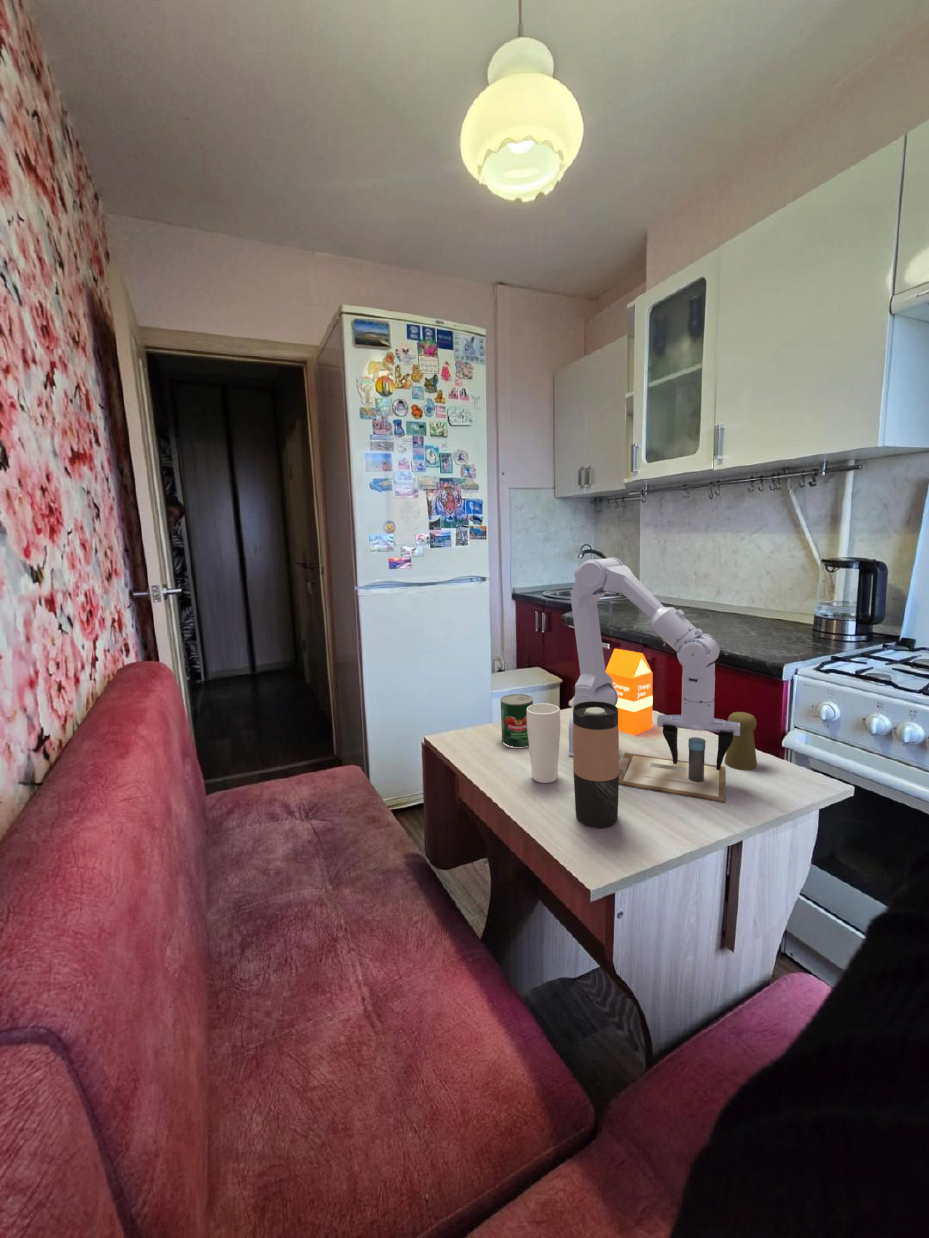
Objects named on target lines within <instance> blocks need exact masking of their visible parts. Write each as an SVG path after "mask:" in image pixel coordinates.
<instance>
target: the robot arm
mask: <svg viewBox="0 0 929 1238" xmlns="http://www.w3.org/2000/svg"><path fill="white" fill-rule="evenodd" d="M574 578H575V581H574V584H573V588H572V589H571V594H570V602H571V603H570V604H571V610H572V616H573V617H572V618H573V627H574V633H575V640H576V648H577V649H576V650H577V656H578V657H577V658H578V664H579V672H580V675H579V677H578V679H577V680H576V682H575V686H574V692H575V694H574V697H573V701H572V703H573V707H574V706H575V705H576V704H578V703H582V702H591V701H596V702H605V703H609V704H612V705H614V706H616V704H617V702H618V694H617V691H616V689H615V688H614V686H613V683H612V678H611V677H610V676H609V675H608V674H607V673H606V665H605V658H604V657H605V656H604V649H603V644H602V643H603V641H602V635H601V626H600V619H599V618H600V617H599V610H598V602H599V600H600V599H601V598H602V597H603V596H604V595H605V593H607V592H610V593H619V594H622V595H623V596H624V598H627V600H629V601H630V602H631V603H633V604H634V606H636V608H638V609H639V610H641V611H642V612H643V613H644V614H645V615H646V616H648V617H649V618H650V620H651V621H650V622H651V629H652V630H653V631H654V632H656V633H657V635H659V636H660V637H661V638H662V639H663V641H665V642H666V643H667V644H668V645H669V646H670V648H672V649H673V650H674V651H675V652H676V657H677V660H678V662H679V664H680V666H682V675H681V714H657V718H656V727H657V728H662V735H663V738H664V739H665V740H666V742H667V745H668V748H669V750H670V753H671V754H670V755H671V757H672V758H671V759H673V764H677V761H678V760H679V759H678V758H679V753H678V751H679V750H678V729H686V730H691V731H698V732H702V731H704V732H711V733H718V735H717V736H718V737H717V738H718V740H717V753H716V754H717V755H716V770H720V769H721V766H722V763H723V761H724V759H725V756H726V751H727V750H728V748H729V746H730V745H731V743H732V741H733V735H735V736H740V723H736V722H730V721H728V720H724V719H720V718H715V691H716V690H715V689H716V688H715V686H716V672H715V671H716V662H715V661H716V660H717V659H718V658H719V656H720V652H721V647H720V645H719V643H718V641H717V640H716V639H715V637H714V636H712V635H711V634H708V633H704V632H703V630H702V629H701V628H697V627H696V626H694V624H692V622H690V621H689V620H688V619H687V618H685V616H684V615H686V614H685V611H683V610H682V609H677V608H675V607H667V606H666V607H665V606H664V605H663V604H662V602H660V601H659V600H658V599H657V598H656V597H655V595H653V593H651V592H650V591H649V590H648V589H647V587H646V586H645V585H644V584H643V583H642V582H641V581H640V580H639V579H638V577H636V576H635V575H634V574H633V572H632V570H631V568H630V567H629V566H627V565H625V564H624V563H623V562H622V560H620V559H619V558H617V557H613V556H611V557H610V556H609V557H606V558H599V559H593V558H592V559H587V560H585V561H583V562H582V563H581V564H580V565H579V567H578V568H576V570H574ZM568 756H569V757H573V712H572V713H571V715H570V717H569V721H568Z"/></svg>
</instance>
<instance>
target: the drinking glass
mask: <svg viewBox="0 0 929 1238" xmlns="http://www.w3.org/2000/svg"><path fill="white" fill-rule="evenodd" d="M526 721H527V734H528V742H529V747H528V749H529V751H528V752H529V757H530V767H531V777H532V779H533V781H536V782H537V783H540V784H541V783H542V784H550V783H553V782H556V781H557V779H558V778H559V777H558V776H559V769H558V768H559V754H560V738H561V708H560V707H559V706H558V705H556V704H552V703H543V702H542V703H533V705H530V706H528V707H527V713H526Z"/></svg>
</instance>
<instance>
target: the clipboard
mask: <svg viewBox="0 0 929 1238" xmlns="http://www.w3.org/2000/svg"><path fill="white" fill-rule="evenodd" d="M725 768H726V767H725V766H723V765H721V769H720V770H716V765H715V764H708V763H704V781H703V782H694V781H691V780H689V778H688V774H689V761H686V760H680V759H678V761H677V764H673V758H664V757H657V756H651V755H643V754H637V753H629V752H624V754H623V756H622V757H620V758H619V786H623V787H628V788H629V787H630V788H636V789H639V790H640V789H641V790H646V791H654V792H659V793H665V794H671V795H676V796H683V797H688V798H693V799H694V798H695V799H700V800H705V801H706V800H707V801H711V802H712V801H713V802H719V803H725V802H726V801H725V799H726V798H725V797H726V796H725V790H726V787H725V786H726V785H725V784H726V780H725V779H726V774H725V773H726V771H725V770H726V769H725Z"/></svg>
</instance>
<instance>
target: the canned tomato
mask: <svg viewBox="0 0 929 1238" xmlns="http://www.w3.org/2000/svg"><path fill="white" fill-rule="evenodd" d="M533 704H534V698H533V697H532V696H531V695H528V694H525V693H524V694H523V693H514V694H507V695H504V696H502V697H500V718H501V719H500V720H501V721H500V722H501V723H500V724H501V743H502V742H504V743H505V744H507V745H509V746H513V747H526V746H529V742H528V734H527V721H526V713H527V707H528V706H530V705H533ZM526 748H527V747H526Z"/></svg>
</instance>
